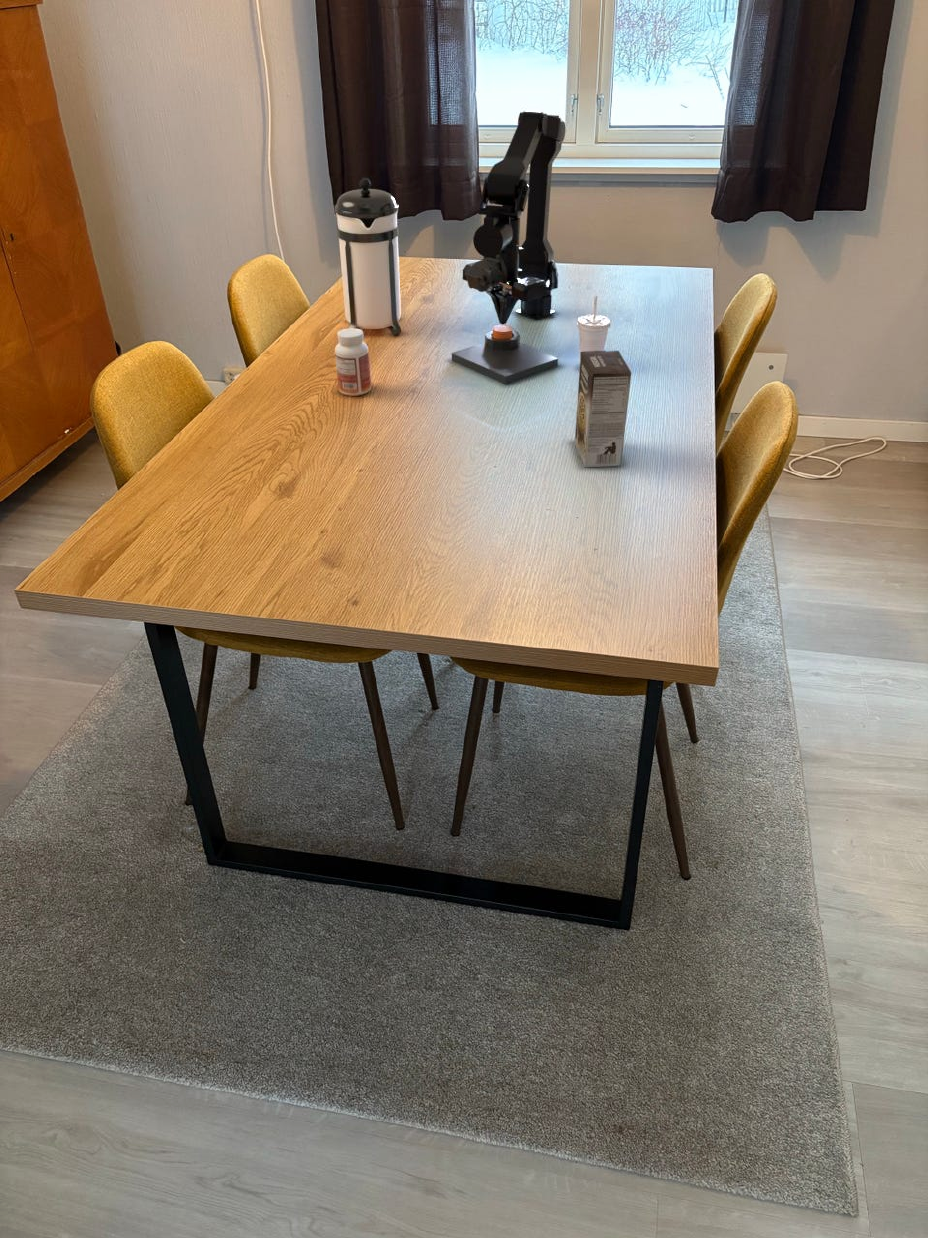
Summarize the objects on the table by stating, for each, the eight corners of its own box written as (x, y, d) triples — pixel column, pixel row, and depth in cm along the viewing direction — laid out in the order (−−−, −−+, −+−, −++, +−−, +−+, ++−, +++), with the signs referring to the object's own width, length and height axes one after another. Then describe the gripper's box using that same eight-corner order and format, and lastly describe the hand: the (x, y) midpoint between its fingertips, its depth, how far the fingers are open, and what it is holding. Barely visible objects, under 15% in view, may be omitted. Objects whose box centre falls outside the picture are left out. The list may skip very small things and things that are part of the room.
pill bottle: (364, 381, 180) (360, 324, 173) (376, 392, 176) (372, 334, 169) (333, 387, 178) (328, 329, 171) (345, 399, 174) (340, 340, 167)
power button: (488, 336, 190) (488, 327, 189) (503, 331, 192) (503, 323, 191) (501, 341, 188) (502, 333, 187) (516, 337, 190) (516, 328, 189)
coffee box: (572, 442, 159) (579, 350, 149) (610, 441, 159) (619, 348, 150) (583, 468, 152) (590, 372, 142) (622, 466, 152) (632, 371, 142)
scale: (450, 360, 188) (449, 343, 186) (503, 343, 196) (503, 326, 194) (505, 385, 178) (506, 367, 176) (559, 365, 186) (560, 348, 184)
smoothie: (606, 362, 187) (612, 292, 179) (606, 375, 182) (613, 303, 173) (573, 361, 188) (578, 291, 179) (573, 374, 182) (578, 302, 174)
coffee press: (426, 325, 204) (421, 176, 186) (371, 345, 195) (361, 190, 177) (372, 307, 214) (363, 163, 196) (318, 325, 205) (303, 176, 187)
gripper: (441, 240, 181) (442, 320, 190) (506, 262, 169) (504, 346, 179) (484, 230, 186) (483, 308, 196) (550, 250, 175) (546, 332, 184)
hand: (502, 323), depth 189 cm, fingers closed
